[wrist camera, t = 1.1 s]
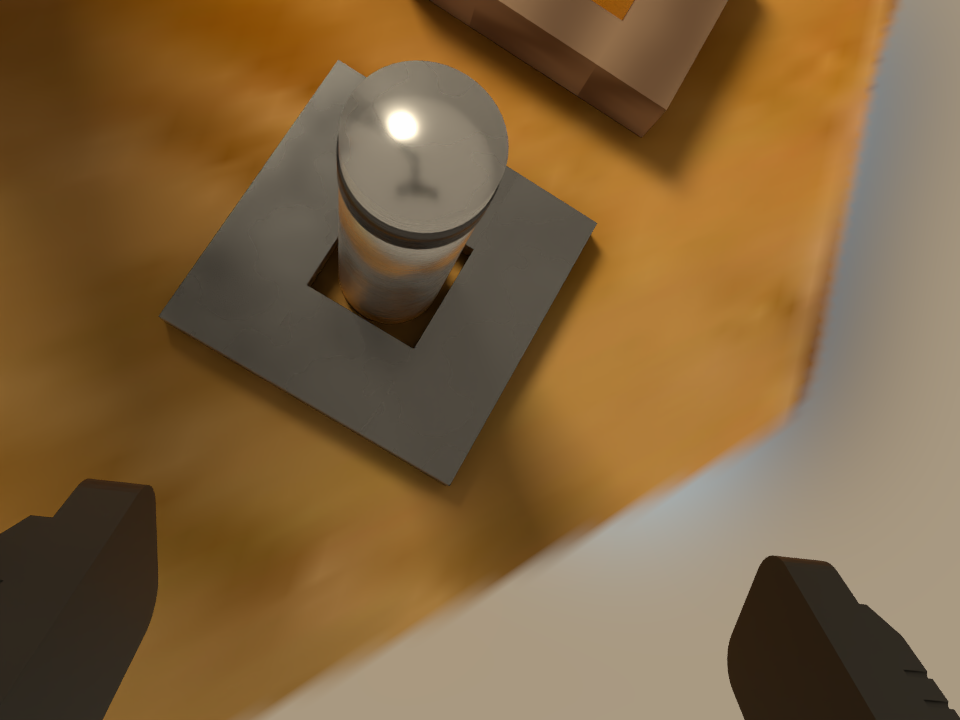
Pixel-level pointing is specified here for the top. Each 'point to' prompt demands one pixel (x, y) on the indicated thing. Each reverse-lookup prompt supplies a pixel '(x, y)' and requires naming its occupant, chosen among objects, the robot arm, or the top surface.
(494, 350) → the socket plate
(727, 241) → the top surface
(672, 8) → the rack
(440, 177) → the grey metal cylinder
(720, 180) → the top surface
